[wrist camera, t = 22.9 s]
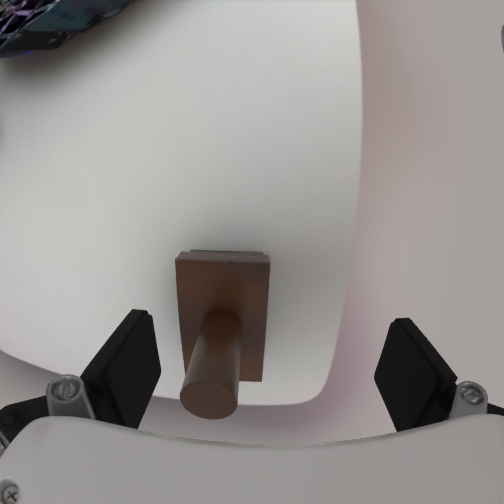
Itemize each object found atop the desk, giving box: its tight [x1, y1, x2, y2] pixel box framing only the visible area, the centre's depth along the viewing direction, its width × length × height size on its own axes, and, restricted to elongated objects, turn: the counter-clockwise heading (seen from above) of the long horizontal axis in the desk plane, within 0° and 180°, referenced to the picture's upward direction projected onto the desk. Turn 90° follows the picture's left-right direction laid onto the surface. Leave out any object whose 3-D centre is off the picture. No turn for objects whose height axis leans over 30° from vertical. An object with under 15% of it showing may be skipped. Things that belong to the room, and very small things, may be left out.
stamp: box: [175, 250, 270, 419], centre depth 16 cm, size 9×6×10 cm, turn 178°
